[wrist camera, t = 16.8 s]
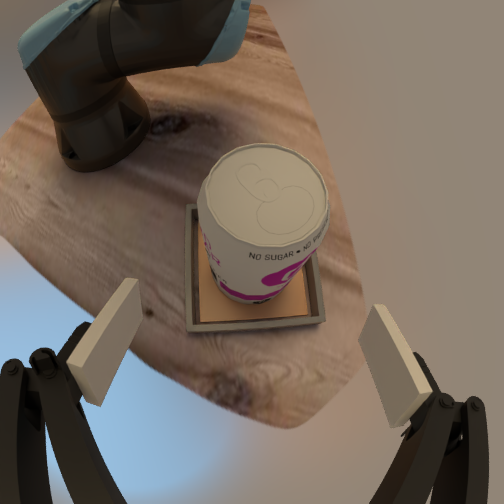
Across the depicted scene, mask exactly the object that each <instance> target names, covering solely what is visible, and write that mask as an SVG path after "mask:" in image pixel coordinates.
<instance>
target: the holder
mask: <svg viewBox="0 0 504 504" xmlns="http://www.w3.org/2000/svg"><path fill="white" fill-rule="evenodd" d="M194 219H199V216H198V207H197V204H186V219H185V306H186V332H189V333H210V332H231V331H247V330H261V329H273V328H284V327H294V326H304V325H313V324H319V323H322V322H325V321H326V318H325V310H324V302H323V294H322V287H321V280H320V273H319V266H318V259H317V253H316V250H315V252H314V253H313V254H312V255H311V257H310V258H309V259H308V260H307V262H306V263H305V265H306V272H307V280H308V288H309V296H310V304H311V313H312V317H305V318H295V319H285V320H273V321H260V322H246V323H229V324H207V325H196V317H195V287H194ZM198 263H199V301H200V322H216V321H236V320H252V319H265V318H278V317H289V316H299V315H308V313H307V304H306V296H305V288H304V280H303V272H302V268H301V269H300V270H299V271H298V273H297V274H296V275H295V276H294V277H293V279H292V280H291V281H290V282H289V283H288V285H287V286H286V287H285V288H284V289H283V291H282V292H280V293H279V294H278V295H277V296H276V297H275V298H273V299H272V300H269V301H267V302H264V303H261V304H242V303H239V302H236V301H234V300H231V299H230V298H228V297H227V296H226V295H225V294H224V293H223V292H221V291H220V290H219V288H218V286H217V284H216V283H215V281H214V279H213V276H212V272H211V268H210V264H209V260H208V256H207V252H206V248H205V244H204V240H203V236H202V232H201V228H200V223H199V222H198Z"/></svg>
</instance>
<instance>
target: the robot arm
mask: <svg viewBox="0 0 504 504" xmlns="http://www.w3.org/2000/svg"><path fill="white" fill-rule="evenodd" d="M250 2H251V0H68V1H66V2H65V3H63V4H61V5H60V6H58V7H56V8H55V9H53V10H52V11H50V12H49V13H48V14H46V15H45V16H43V17H42V18H41V19H39V20H38V21H37V22H35V23H34V24H33V25H32V26H31V27H30V28H29V29H27V30H26V31H25V32H24V34H23V35H22V36H21V38H20V40H19V42H18V52H19V54H20V57H21V60H22V63H23V69H24V70H26V72H27V74H28V76H29V78H30V80H31V82H32V84H33V86H34V88H35V89H36V91H37V93H38V95H39V97H40V98H41V100H42V102H43V104H44V105H45V107H46V109H47V111H48V112H49V114H50V116H51V118H52V119H53V121H54V126H55V132H56V138H57V143H58V148H59V152H60V154H61V156H62V158H63V159H64V161H65V162H66V163H67V165H68V166H69V167H70V168H72V169H74V170H76V171H81V172H90V171H96V170H100V169H103V168H106V167H108V166H110V165H112V164H114V163H116V162H118V161H120V160H121V159H123V158H124V157H126V156H127V155H128V154H129V153H131V152H132V151H133V150H134V149H135V148H136V147H137V146H138V145H139V144H140V143H141V141H142V140H143V139H144V137H145V135H146V134H147V132H148V129H149V126H150V115H149V111H148V108H147V105H146V103H145V101H144V100H143V98H142V97H141V96H140V95H139V93H138V92H137V91H136V90H135V89H134V87H133V86H132V85H131V84H130V83H129V81H128V80H127V78H126V76H130V75H135V74H140V73H146V72H151V71H157V70H164V69H170V68H178V67H187V66H196V67H198V66H202V65H204V64H209V63H218V62H225V61H227V60H229V59H231V58H233V57H234V56H235V55H236V54H237V52H238V51H239V49H240V47H241V44H242V42H243V39H244V36H245V32H246V28H247V24H248V19H249V13H250V12H249V7H250ZM142 320H143V314H142V306H141V298H140V289H139V280H138V279H133V278H127V277H126V278H125V279H124V281H123V282H122V283H121V285H120V286H119V287H118V289H117V290H116V291H115V293H114V294H113V295H112V297H111V298H110V299H109V301H108V302H107V303H106V305H105V306H104V307H103V309H102V310H101V312H100V313H99V314H98V316H97V317H96V319H95V320H94V321H93V323H89V322H83V323H82V324H81V325H79V326H78V327H77V328H76V329H75V330H74V332H73V333H72V336H70V337H69V339H68V341H67V342H66V343H65V344H64V346H63V347H62V349H61V350H60V352H59V353H58V355H57V356H56V355H55V352H54V351H53V350H52V349H50V348H39V349H37V350H36V351H34V352H33V353H32V354H31V356H30V358H29V363H30V364H31V367H32V368H26V367H24V365H23V363H22V362H21V361H20V360H19V359H10V360H8V361H6V362H5V363H4V364H3V366H2V369H1V374H0V504H53V502H52V497H51V491H50V484H49V476H48V467H47V455H46V436H45V422H46V426H47V430H48V434H49V438H50V441H51V445H52V448H53V451H54V454H55V457H56V460H57V463H58V466H59V469H60V471H61V474H62V477H63V479H64V482H65V484H66V487H67V489H68V491H69V493H70V496H71V498H72V500H73V503H74V504H127V502H126V501H125V499H124V497H123V496H122V494H121V492H120V491H119V489H118V487H117V485H116V483H115V482H114V480H113V478H112V476H111V474H110V472H109V470H108V468H107V466H106V464H105V462H104V460H103V458H102V456H101V453H100V451H99V449H98V447H97V444H96V442H95V439H94V437H93V435H92V432H91V430H90V427H89V424H88V422H87V419H86V416H85V414H84V411H83V408H82V405H81V403H80V399H81V397H82V395H83V397H84V399H85V400H86V402H88V403H91V404H94V405H96V406H100V407H101V405H102V403H103V400H104V398H105V396H106V394H107V391H108V389H109V387H110V385H111V383H112V380H113V378H114V376H115V374H116V372H117V370H118V368H119V366H120V364H121V362H122V359H123V358H124V355H125V353H126V351H127V349H128V347H129V345H130V343H131V341H132V339H133V337H134V335H135V334H136V332H137V330H138V328H139V326H140V324H141V322H142ZM358 341H359V343H360V346H361V348H362V351H363V353H364V356H365V358H366V361H367V364H368V366H369V368H370V371H371V374H372V377H373V379H374V382H375V385H376V388H377V390H378V393H379V395H380V399H381V402H382V404H383V407H384V410H385V413H386V416H387V419H388V422H389V425H390V428H395V427H400V426H403V425H404V424H405V423H406V422H407V421H408V420H409V419H410V421H411V425H410V426H409V427H408V428H407V429H406V430H405V431H404V432H403V433H402V435H401V437H402V436H403V435H404V434H405V437H404V439H403V441H402V443H401V445H400V448H399V450H398V452H397V454H396V456H395V458H394V460H393V462H392V464H391V466H390V468H389V470H388V472H387V474H386V475H385V477H384V479H383V481H382V483H381V484H380V486H379V488H378V490H377V491H376V493H375V495H374V496H373V498H372V499H371V501H370V503H369V504H425V503H426V501H427V499H428V496H429V494H430V492H431V489H432V487H433V490H432V496H431V501H430V504H487V498H488V483H489V449H488V433H487V422H486V413H485V407H484V403H483V402H482V400H481V399H479V398H478V397H476V396H471V397H469V398H468V399H467V401H466V402H465V403H463V402H455V401H454V399H453V398H452V397H451V396H450V395H448V394H446V393H441V391H440V389H439V387H438V385H437V383H436V382H435V380H434V378H433V376H432V374H431V373H430V370H429V369H428V367H427V365H426V363H425V361H424V359H423V358H422V357H421V356H420V355H419V354H418V353H416V352H412V351H411V349H410V347H409V346H408V344H407V342H406V340H405V339H404V337H403V335H402V333H401V332H400V330H399V328H398V327H397V325H396V323H395V321H394V320H393V318H392V316H391V315H390V314H389V312H388V310H387V309H386V307H385V305H381V304H373V306H372V309H371V311H370V314H369V316H368V318H367V321H366V323H365V326H364V328H363V330H362V332H361V335H360V337H359V339H358ZM461 435H462V437H463V438H462V440H461Z"/></svg>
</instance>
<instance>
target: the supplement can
mask: <svg viewBox="0 0 504 504" xmlns="http://www.w3.org/2000/svg"><path fill="white" fill-rule="evenodd" d="M197 207H198V216H199V223H200V228H201V232H202V236H203V240H204V244H205V248H206V252H207V256H208V260H209V264H210V268H211V272H212V276H213V279H214V281H215V283H216V284H217V286H218V288H219V290H220V291H221V292H223V293H224V294H225V295H226V296H227V297H228V298H230V299H231V300H234V301H236V302H239V303H242V304H261V303H264V302H267V301H269V300H272V299H273V298H275V297H276V296H277V295H278V294H279V293H280V292H282V291H283V289H284V288H285V287H286V286H287V285H288V283H289V282H290V281H291V280H292V279H293V277H294V276H295V275H296V274H297V273H298V271H299V270H300V269H301V268H302V266H303V265H304V264H305V263H306V262H307V260H308V259H309V258H310V257H311V255H312V254H313V253H314V252H315V250H316V249H317V248H318V247H319V245H320V244H321V242H322V240H323V238H324V236H325V233H326V231H327V229H328V227H329V220H330V204H329V201H328V190H327V188H326V185H325V182H324V179H323V177H322V175H321V173H320V172H319V171H318V170H317V168H316V167H315V166H314V165H313V164H312V162H311V161H310V160H308V159H307V158H305V157H304V156H302V155H301V154H299V153H298V152H296V151H295V150H292V149H289V148H286V147H283V146H280V145H277V144H267V143H254V144H250V145H245V146H241V147H237V148H236V149H234V150H232V151H230V152H229V153H227V154H225V155H224V156H222V157H221V158H220V159H219V161H218V162H217V163H216V164H215V165H214V167H213V168H212V169H211V170H210V173H209V175H208V176H207V177H206V178H205V180H204V181H203V183H202V186H201V189H200V192H199V196H198V199H197Z"/></svg>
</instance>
